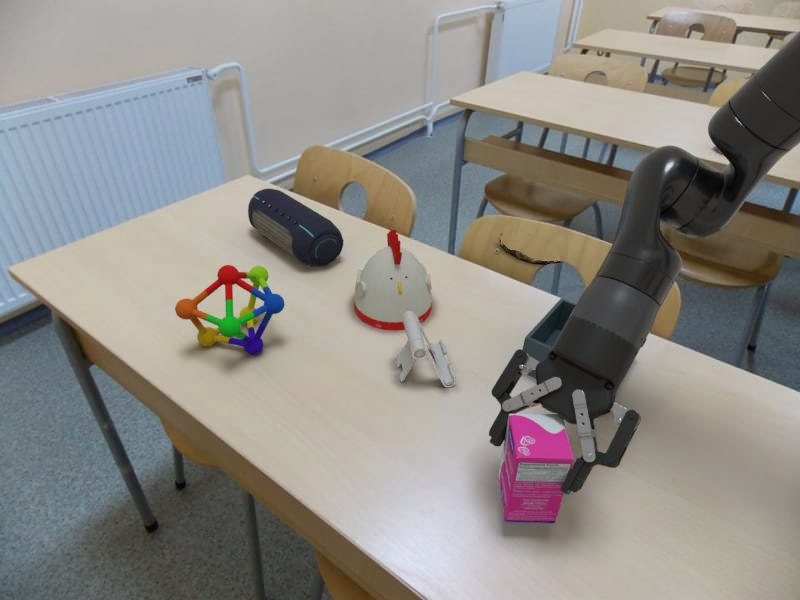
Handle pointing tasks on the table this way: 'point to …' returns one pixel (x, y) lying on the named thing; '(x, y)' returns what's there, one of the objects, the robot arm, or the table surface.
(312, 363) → the table surface
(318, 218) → the portable speaker
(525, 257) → the dark brown curved strip
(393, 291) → the kitchen timer
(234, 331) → the educational toy
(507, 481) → the supplement box
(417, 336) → the tablet stand
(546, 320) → the bin
